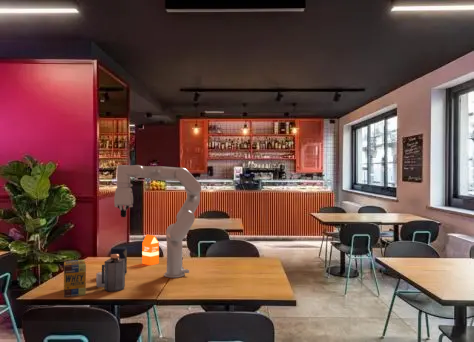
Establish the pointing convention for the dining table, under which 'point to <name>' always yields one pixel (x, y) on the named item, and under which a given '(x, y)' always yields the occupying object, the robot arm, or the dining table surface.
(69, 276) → the protein box
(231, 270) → the dining table surface
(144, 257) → the orange juice
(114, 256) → the plunger
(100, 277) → the glossy white dome
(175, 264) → the robot arm
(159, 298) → the dining table surface
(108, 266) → the carafe
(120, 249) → the canister
